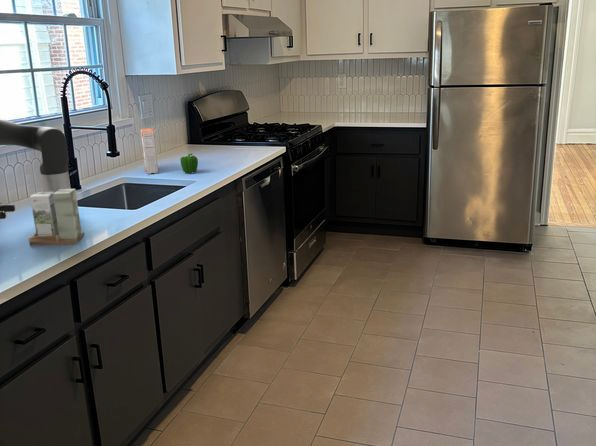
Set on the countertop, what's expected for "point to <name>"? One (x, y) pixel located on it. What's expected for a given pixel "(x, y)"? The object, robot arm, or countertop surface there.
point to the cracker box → (149, 150)
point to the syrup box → (44, 214)
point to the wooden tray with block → (63, 220)
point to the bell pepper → (189, 163)
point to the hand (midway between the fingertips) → (10, 211)
